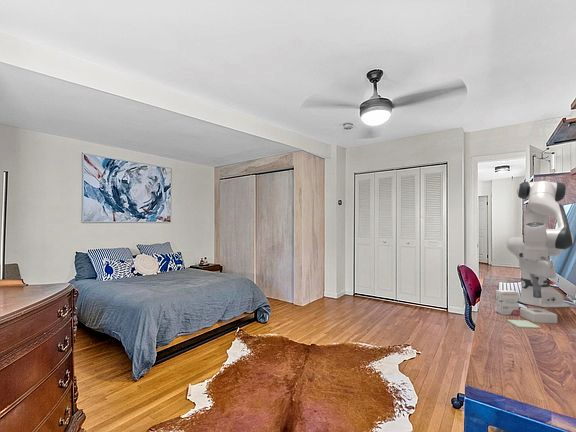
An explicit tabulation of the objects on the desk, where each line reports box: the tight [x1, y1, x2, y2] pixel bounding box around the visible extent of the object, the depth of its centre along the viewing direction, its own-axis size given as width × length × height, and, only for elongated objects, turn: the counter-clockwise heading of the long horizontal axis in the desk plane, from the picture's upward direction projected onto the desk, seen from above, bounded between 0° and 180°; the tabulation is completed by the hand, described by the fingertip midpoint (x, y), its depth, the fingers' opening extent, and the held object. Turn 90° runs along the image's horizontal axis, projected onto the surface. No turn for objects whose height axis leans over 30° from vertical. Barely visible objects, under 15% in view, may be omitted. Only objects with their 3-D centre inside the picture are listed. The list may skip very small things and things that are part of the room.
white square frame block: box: [519, 307, 558, 324], centre depth 142 cm, size 10×10×4 cm
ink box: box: [495, 289, 520, 316], centre depth 151 cm, size 9×5×12 cm, turn 84°
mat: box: [506, 319, 542, 330], centre depth 135 cm, size 9×9×1 cm
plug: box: [533, 276, 542, 298], centre depth 142 cm, size 3×3×10 cm
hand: (537, 283), depth 142 cm, fingers closed on plug, 3 cm apart
